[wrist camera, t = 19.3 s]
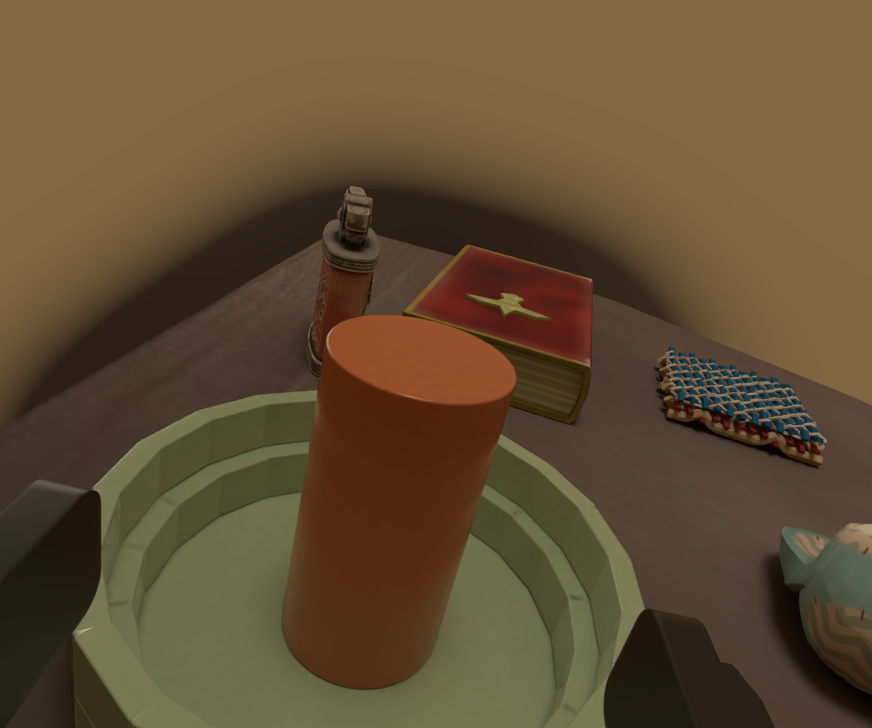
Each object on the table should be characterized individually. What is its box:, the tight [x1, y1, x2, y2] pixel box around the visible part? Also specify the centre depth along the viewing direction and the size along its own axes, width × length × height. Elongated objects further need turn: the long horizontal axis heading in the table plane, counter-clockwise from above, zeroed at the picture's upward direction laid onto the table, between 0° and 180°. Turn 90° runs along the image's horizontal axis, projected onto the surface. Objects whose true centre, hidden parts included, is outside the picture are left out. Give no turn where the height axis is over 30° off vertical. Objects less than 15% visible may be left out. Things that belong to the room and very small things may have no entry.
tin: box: [281, 315, 517, 689], centre depth 19 cm, size 5×5×10 cm
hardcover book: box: [402, 245, 593, 424], centre depth 47 cm, size 12×21×4 cm, turn 166°
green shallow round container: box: [68, 390, 645, 728], centre depth 20 cm, size 17×17×4 cm
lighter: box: [306, 186, 380, 377], centre depth 38 cm, size 8×3×10 cm, turn 8°
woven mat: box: [657, 346, 827, 466], centre depth 45 cm, size 10×11×2 cm
